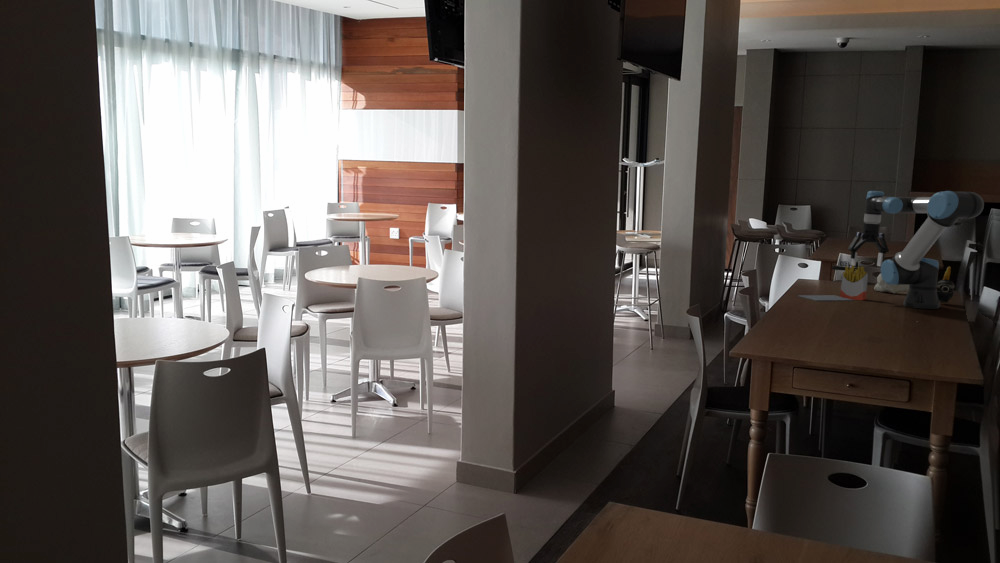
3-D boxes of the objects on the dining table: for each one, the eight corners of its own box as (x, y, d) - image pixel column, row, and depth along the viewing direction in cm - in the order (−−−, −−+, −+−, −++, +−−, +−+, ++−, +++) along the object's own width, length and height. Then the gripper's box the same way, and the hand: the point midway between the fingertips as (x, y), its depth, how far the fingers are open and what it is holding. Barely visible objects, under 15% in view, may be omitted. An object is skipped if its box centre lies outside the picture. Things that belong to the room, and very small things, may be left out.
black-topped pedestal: (810, 283, 467) (811, 259, 466) (835, 280, 483) (837, 257, 482) (857, 289, 445) (859, 264, 444) (882, 286, 461) (884, 262, 460)
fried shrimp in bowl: (948, 301, 404) (952, 264, 402) (959, 304, 393) (962, 266, 391) (929, 300, 405) (932, 263, 402) (938, 304, 394) (941, 266, 391)
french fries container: (861, 305, 401) (864, 267, 399) (839, 302, 408) (842, 265, 406) (865, 304, 404) (868, 267, 402) (843, 301, 412) (846, 265, 410)
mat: (853, 300, 399) (853, 299, 399) (816, 301, 395) (816, 300, 395) (834, 295, 414) (834, 295, 414) (798, 296, 411) (798, 295, 411)
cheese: (865, 282, 431) (890, 266, 423) (868, 280, 437) (894, 264, 429) (883, 307, 428) (910, 291, 419) (887, 305, 434) (913, 289, 425)
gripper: (890, 223, 411) (884, 265, 415) (843, 221, 407) (838, 264, 410) (900, 224, 404) (894, 267, 407) (852, 222, 399) (847, 266, 403)
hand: (866, 266), depth 409 cm, fingers open, 13 cm apart
